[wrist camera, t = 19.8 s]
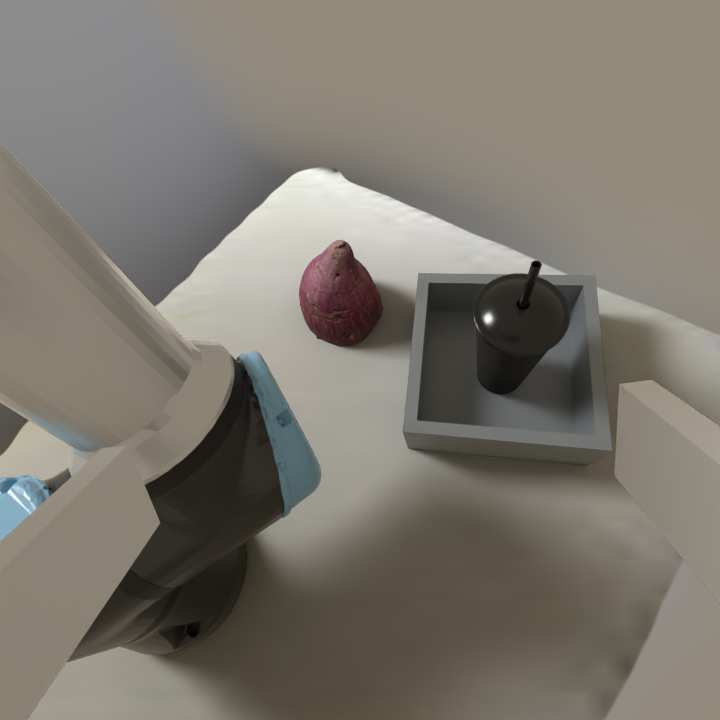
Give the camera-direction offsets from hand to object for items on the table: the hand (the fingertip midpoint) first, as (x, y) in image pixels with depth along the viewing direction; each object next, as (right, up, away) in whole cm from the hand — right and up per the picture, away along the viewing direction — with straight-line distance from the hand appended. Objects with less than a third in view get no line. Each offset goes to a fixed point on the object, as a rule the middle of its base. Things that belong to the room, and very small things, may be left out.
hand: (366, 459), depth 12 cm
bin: (+15, +1, +37) cm, 40 cm away
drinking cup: (+15, +1, +36) cm, 39 cm away
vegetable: (-2, +9, +44) cm, 45 cm away
